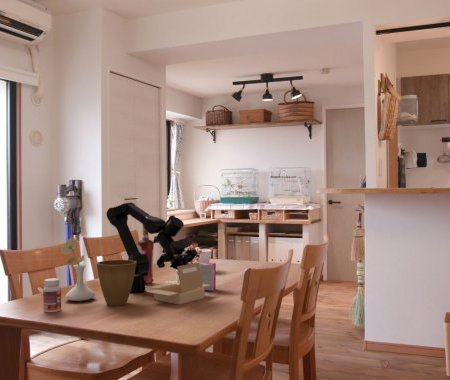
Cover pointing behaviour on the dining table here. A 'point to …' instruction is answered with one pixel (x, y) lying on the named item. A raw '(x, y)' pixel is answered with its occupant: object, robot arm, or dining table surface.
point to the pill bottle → (52, 295)
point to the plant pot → (116, 280)
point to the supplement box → (208, 275)
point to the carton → (176, 293)
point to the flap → (189, 276)
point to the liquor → (147, 254)
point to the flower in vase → (79, 290)
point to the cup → (205, 256)
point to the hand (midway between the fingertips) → (188, 274)
